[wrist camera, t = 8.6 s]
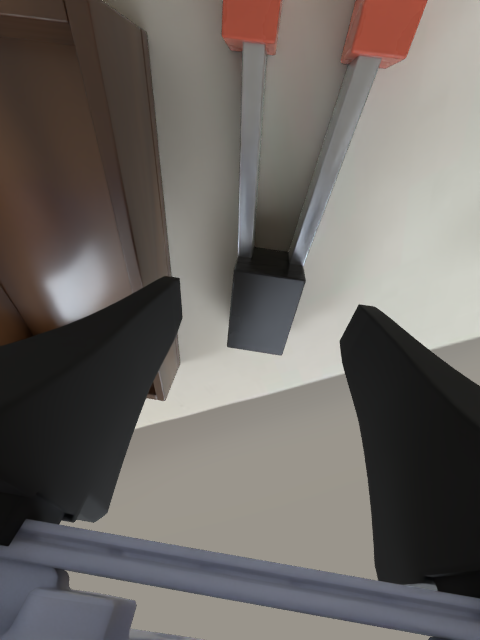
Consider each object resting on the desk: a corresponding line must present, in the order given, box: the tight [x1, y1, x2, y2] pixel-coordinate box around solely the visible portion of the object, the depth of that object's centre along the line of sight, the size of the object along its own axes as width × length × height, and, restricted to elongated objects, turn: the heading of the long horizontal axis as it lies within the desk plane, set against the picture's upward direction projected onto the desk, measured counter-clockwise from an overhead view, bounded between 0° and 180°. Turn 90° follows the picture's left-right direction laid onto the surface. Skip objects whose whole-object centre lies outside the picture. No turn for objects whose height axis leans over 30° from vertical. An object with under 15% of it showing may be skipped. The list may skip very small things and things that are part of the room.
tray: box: [0, 0, 180, 401], centre depth 13 cm, size 12×18×4 cm
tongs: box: [222, 0, 427, 355], centre depth 11 cm, size 5×15×3 cm, turn 175°
